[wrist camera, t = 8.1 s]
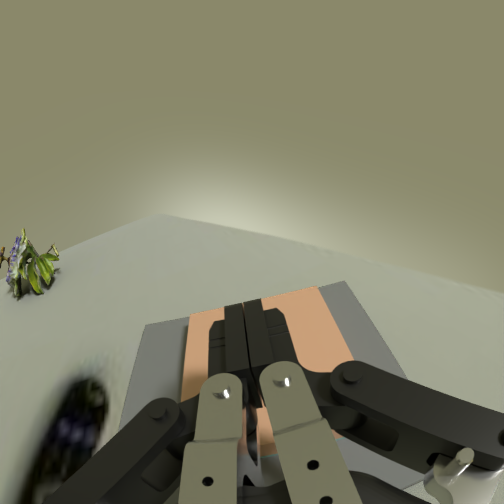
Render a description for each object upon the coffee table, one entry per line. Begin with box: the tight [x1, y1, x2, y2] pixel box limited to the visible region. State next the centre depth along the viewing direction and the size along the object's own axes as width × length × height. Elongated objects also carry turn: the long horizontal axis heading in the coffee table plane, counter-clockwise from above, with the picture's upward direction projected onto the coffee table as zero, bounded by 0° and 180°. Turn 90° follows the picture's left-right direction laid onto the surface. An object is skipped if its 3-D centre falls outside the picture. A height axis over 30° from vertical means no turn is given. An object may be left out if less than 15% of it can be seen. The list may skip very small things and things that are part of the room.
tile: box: [181, 286, 354, 458], centre depth 17 cm, size 10×2×12 cm
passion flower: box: [0, 228, 59, 297], centre depth 39 cm, size 11×11×12 cm
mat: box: [118, 281, 425, 504], centre depth 17 cm, size 18×18×1 cm
